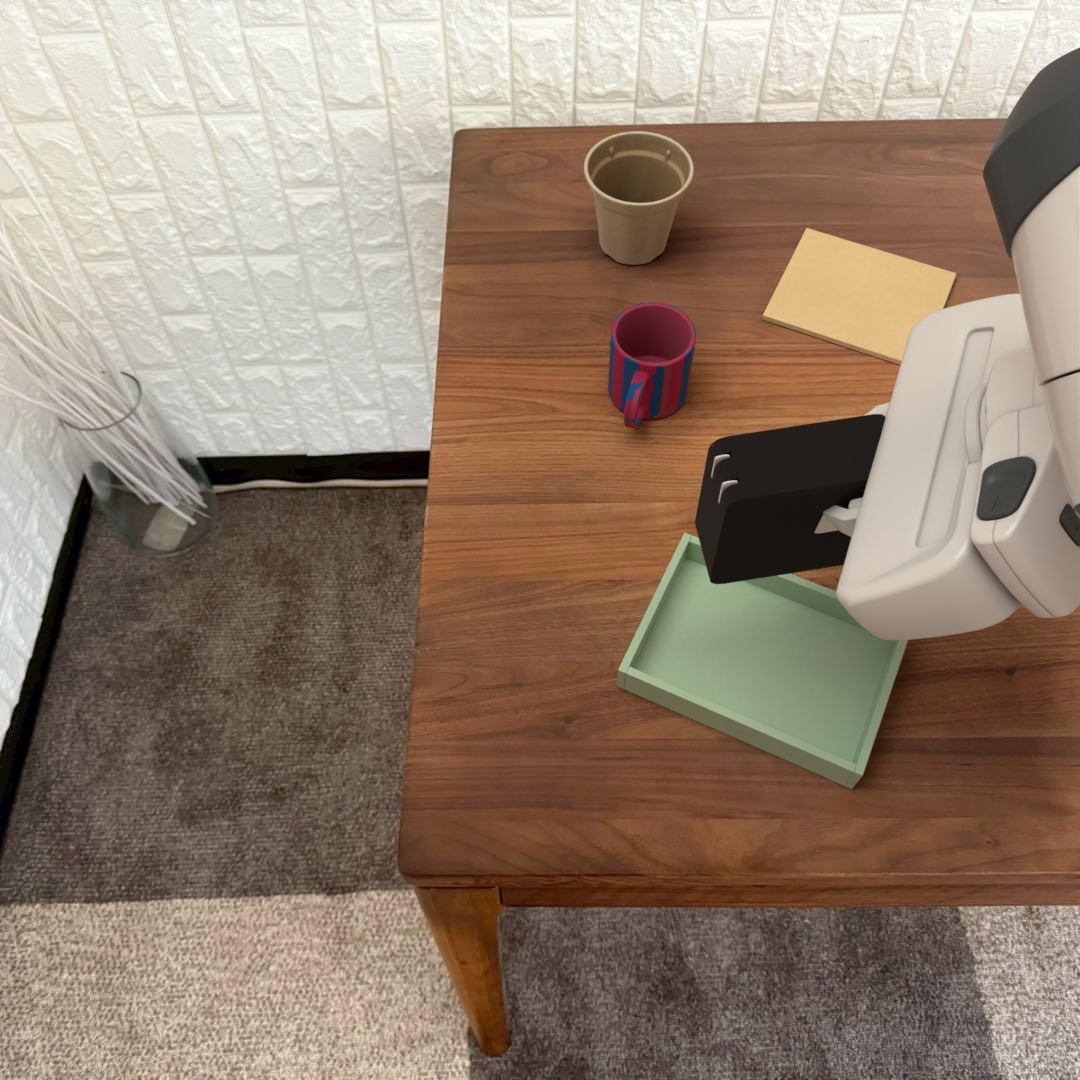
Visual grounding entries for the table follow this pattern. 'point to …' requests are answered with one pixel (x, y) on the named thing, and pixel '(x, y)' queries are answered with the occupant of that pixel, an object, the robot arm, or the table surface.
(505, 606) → the table surface
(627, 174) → the flower pot
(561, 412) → the table surface
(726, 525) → the electronic device
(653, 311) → the mug
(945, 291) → the cork mat
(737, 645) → the tray
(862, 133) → the table surface
